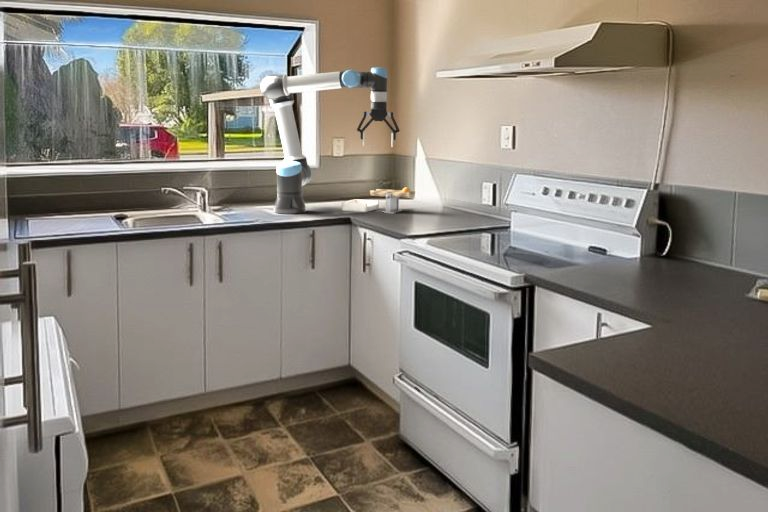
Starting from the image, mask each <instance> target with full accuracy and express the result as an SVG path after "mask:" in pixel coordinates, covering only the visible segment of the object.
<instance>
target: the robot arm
mask: <svg viewBox="0 0 768 512" xmlns="http://www.w3.org/2000/svg"><path fill="white" fill-rule="evenodd" d="M387 70H388V69H387V68H385V67H380V66H379V67H376V66H375V67H371V69H370V71H357V70H354V69H347V70H342V71H331V72H321V73H312V74H303V75H302V74H301V75H300V74H299V75H291V76H288V75H287V74H269V75H268V74H267V75H266V76H265V77H264V78H263V79H262V81H261V82H260V91H261V93H262V95H263V96H264V97H265V98H267V99H268V102H269V106H270V107H271V108H272V109H274V112H275V113H274V114H275V118H276V123H277V127H278V128H277V129H278V132H279V137H280V141H281V145H282V150H283V151H282V152H283V155H284V159H282V162H279V163H277V164H276V192H277V193H276V195H277V196H276V199H275V202H274V205H273V213H276V214H285V215H286V214H288V215H289V214H292V215H293V214H303V213H306V212H307V207H306V203H305V199H304V198H303V187H305V186H306V185H307V184H308V183H309V182H310V181H311V180H312V176H313V173H312V169H311V167H310V165H309V164H308V161H307V160H308V159H307V157H306V156H305V155H303V151H302V148H301V143H300V142H301V141H300V137H299V133H298V128H297V124H296V119H295V113H294V110H293V109H294V108H293V105H294V103H295V99H294V94H297V93H307V92H309V93H310V92H315V91H316V92H318V91H327V90H329V91H330V90H336V89H347V88H348V89H349V88H350V89H370V111H365V110H364V112H363V116H362V119H361V120H360V122H359V125H358V127H356V131H357V132H359V133H360V139H361V140H362V147H364V148H365V143H366V142H365V138H366V137H365V136H366V135H365V134H366V133H365V131H366V129H367V128H368V127H369V126H370V124H372V122H373V121H374V122H383V121H384V123H385V124H386V125H387V127H388V128H389V129H390V130H391V142H390V143H391V146H390V147H391V148H393V147H394V141H396V135H397V133H399V132H400V131H401V130H400V128H399V126H398V124H397V121H396V120H395V118H394V112H393V111H390V112H388V111H387V110H388V109H387V106H388V105H387V100H388V99H387V98H388V71H387ZM369 115H370V117H371V118H369V120H368V121H367V123H365V125H364V126H363V124H364V122H365V120H366V118H367V117H368V116H369ZM387 116H389V117H390V119H391V121H392V123H393V125H394V127H393V126H392V125H391V124H390V121H388V120H387V119H386V117H387Z"/></svg>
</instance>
